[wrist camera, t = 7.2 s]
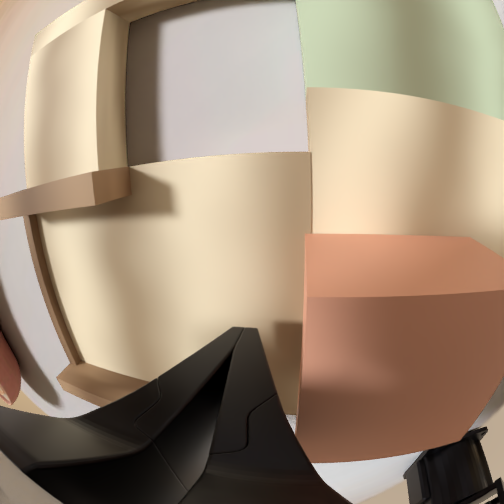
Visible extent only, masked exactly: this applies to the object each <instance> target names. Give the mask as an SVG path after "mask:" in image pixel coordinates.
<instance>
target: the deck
mask: <svg viewBox="0 0 504 504" xmlns="http://www.w3.org/2000/svg"><path fill="white" fill-rule="evenodd" d="M195 1H200V0H85V1H83V2H82V3H80V4H78V5H77V6H75V7H74V8H72V9H71V10H69V11H68V12H66V13H65V14H63V15H62V16H60V17H59V18H57V19H56V20H54V21H53V22H52V23H50V24H49V25H48V26H46V27H45V28H44V29H42V30H41V31H40V32H39V33H37V34H36V35H35V39H34V43H33V48H32V53H31V59H30V65H29V71H28V79H27V87H26V98H25V114H24V157H25V173H26V185H27V189H28V188H32V187H35V186H38V185H42V184H45V183H49V182H52V181H56V180H60V179H64V178H67V177H71V176H76V175H80V174H84V173H88V172H93V171H100V170H107V169H114V168H122V167H128V163H127V148H126V124H125V83H126V60H127V45H128V34H129V25H130V22H133V21H135V20H138V19H140V18H143V17H146V16H148V15H151V14H154V13H157V12H160V11H163V10H166V9H170V8H173V7H176V6H180V5H184V4H187V3H191V2H195ZM295 2H296V9H297V16H298V24H299V32H300V40H301V50H302V60H303V70H304V82H305V95H306V110H307V128H308V152H267V153H245V154H230V155H217V156H205V157H195V158H186V159H178V160H170V161H162V162H155V163H148V164H142V165H136V166H130V167H129V171H130V182H131V192H132V195H129V196H125V197H122V198H118V199H115V200H112V201H108V202H105V203H102V204H98V205H95V206H87V207H79V208H72V209H64V210H57V211H51V212H44V213H38V214H36V216H37V222H38V228H39V233H40V238H41V243H42V247H43V252H44V256H45V260H46V264H47V268H48V271H49V275H50V279H51V282H52V285H53V289H54V292H55V295H56V298H57V301H58V304H59V307H60V310H61V313H62V315H63V318H64V321H65V323H66V326H67V329H68V331H69V334H70V336H71V339H72V341H73V343H74V346H75V348H76V350H77V352H78V355H79V357H80V359H81V361H83V362H86V363H89V364H92V365H95V366H98V367H101V368H104V369H107V370H110V371H113V372H116V373H120V374H123V375H127V376H130V377H134V378H138V379H141V380H145V381H149V382H150V381H152V380H153V379H155V378H157V379H158V376H160V375H161V374H163V373H165V372H166V371H168V370H169V369H171V368H172V367H174V366H175V365H177V364H178V363H180V362H181V361H183V360H184V359H186V358H187V357H189V356H190V355H192V354H193V353H195V352H196V351H198V350H199V349H201V348H202V347H204V346H205V345H207V344H208V343H210V342H211V341H213V340H214V339H215V338H217V337H218V336H220V335H221V334H223V333H224V332H226V331H227V330H228V329H230V328H231V327H233V326H235V327H251V328H257V329H258V331H259V334H260V338H261V341H262V344H263V347H264V351H265V354H266V357H267V360H268V364H269V367H270V370H271V373H272V376H273V380H274V383H275V386H276V389H277V392H278V396H279V398H280V401H281V404H282V407H283V410H284V412H285V414H287V415H297V404H298V389H299V374H300V361H301V345H302V327H303V305H304V271H305V234H383V235H424V236H455V237H471V238H472V239H474V240H476V241H477V242H479V243H481V244H482V245H484V246H486V247H487V248H489V249H490V250H492V251H494V252H495V253H497V254H498V255H500V256H501V257H503V258H504V28H503V25H502V23H501V20H500V17H499V15H498V13H497V10H496V8H495V6H494V3H493V1H492V0H295Z"/></svg>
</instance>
